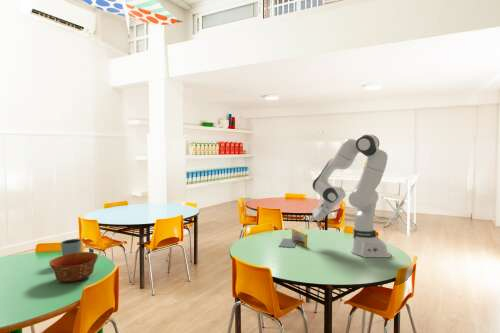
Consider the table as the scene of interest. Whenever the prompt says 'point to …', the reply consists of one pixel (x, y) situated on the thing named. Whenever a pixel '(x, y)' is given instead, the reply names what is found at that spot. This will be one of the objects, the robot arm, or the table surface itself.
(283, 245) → the mat
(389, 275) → the table surface
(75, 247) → the grey cylinder
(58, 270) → the bowl
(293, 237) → the candy box
